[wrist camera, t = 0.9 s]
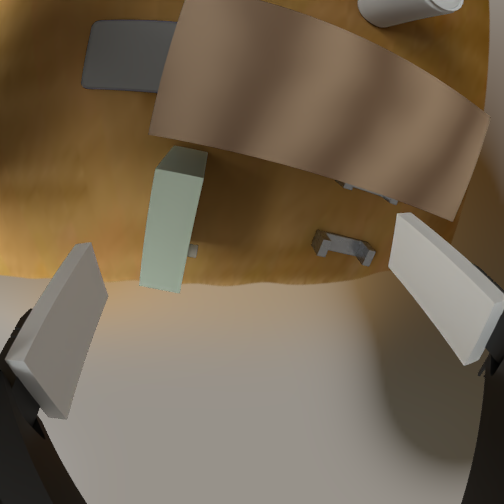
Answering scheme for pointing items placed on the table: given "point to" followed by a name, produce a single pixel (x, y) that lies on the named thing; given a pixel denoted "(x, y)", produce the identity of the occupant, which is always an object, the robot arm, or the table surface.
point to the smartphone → (127, 54)
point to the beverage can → (404, 10)
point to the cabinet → (316, 103)
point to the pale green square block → (172, 218)
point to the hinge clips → (345, 239)
